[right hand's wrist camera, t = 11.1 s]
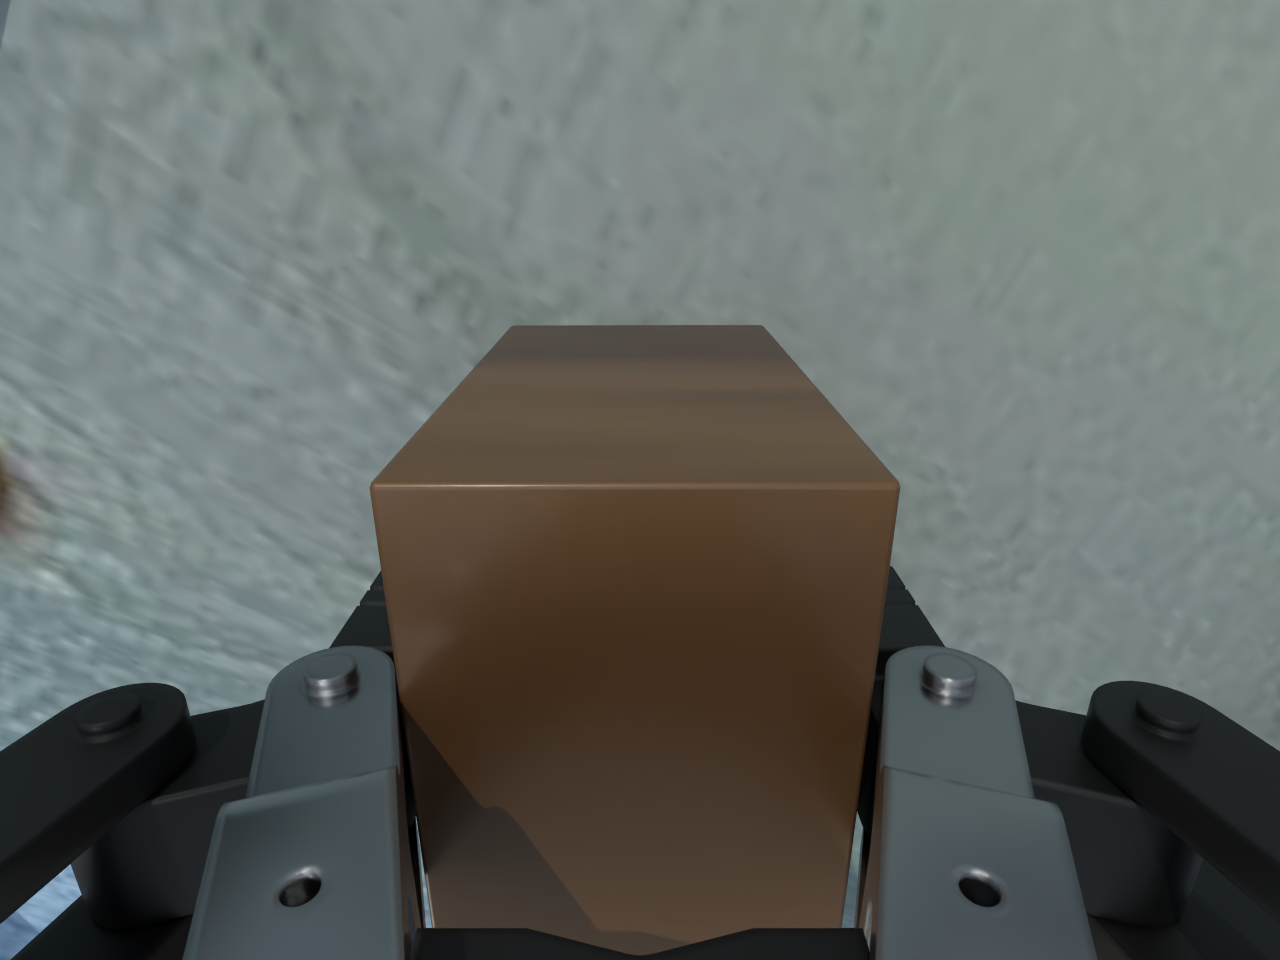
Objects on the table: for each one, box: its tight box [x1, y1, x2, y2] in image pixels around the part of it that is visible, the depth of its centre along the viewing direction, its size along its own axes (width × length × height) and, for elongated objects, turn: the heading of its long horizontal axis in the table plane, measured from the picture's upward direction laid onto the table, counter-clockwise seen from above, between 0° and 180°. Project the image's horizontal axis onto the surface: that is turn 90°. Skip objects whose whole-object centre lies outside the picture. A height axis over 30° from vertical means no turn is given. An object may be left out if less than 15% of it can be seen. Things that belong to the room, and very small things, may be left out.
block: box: [370, 325, 900, 955], centre depth 14 cm, size 22×5×8 cm, turn 0°
